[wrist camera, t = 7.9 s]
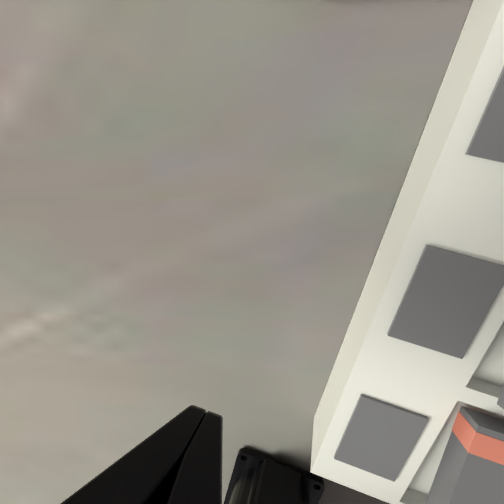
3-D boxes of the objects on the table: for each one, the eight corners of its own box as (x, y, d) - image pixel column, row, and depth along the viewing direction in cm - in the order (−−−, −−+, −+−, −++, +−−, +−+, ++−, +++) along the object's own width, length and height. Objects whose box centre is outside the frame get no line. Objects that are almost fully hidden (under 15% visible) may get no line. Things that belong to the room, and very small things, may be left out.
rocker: (485, 547, 16) (506, 584, 14) (417, 520, 16) (429, 552, 14) (533, 429, 15) (560, 453, 13) (460, 405, 15) (478, 425, 14)
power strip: (468, 473, 20) (500, 550, 16) (314, 417, 22) (309, 475, 18) (754, 41, 12) (957, -11, 8) (474, -1, 14) (531, -62, 10)
